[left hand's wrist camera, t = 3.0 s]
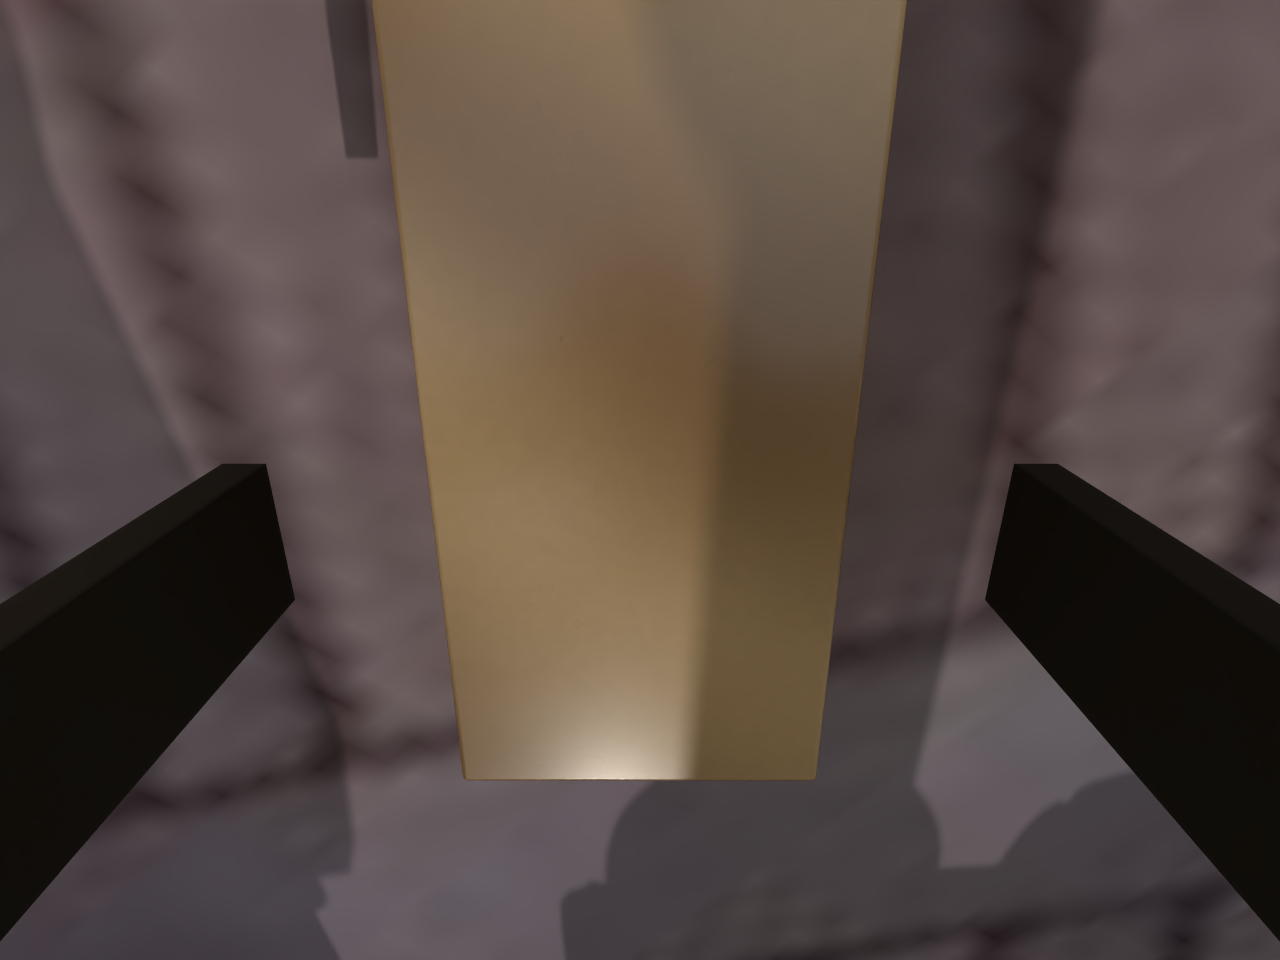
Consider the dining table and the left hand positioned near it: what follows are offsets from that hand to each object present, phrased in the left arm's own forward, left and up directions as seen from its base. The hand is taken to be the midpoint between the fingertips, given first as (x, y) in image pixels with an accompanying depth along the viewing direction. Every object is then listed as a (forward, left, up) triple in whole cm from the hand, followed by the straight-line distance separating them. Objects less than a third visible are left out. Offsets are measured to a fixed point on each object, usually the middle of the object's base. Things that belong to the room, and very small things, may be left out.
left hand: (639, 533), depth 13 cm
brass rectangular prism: (+5, -3, -6) cm, 9 cm away
